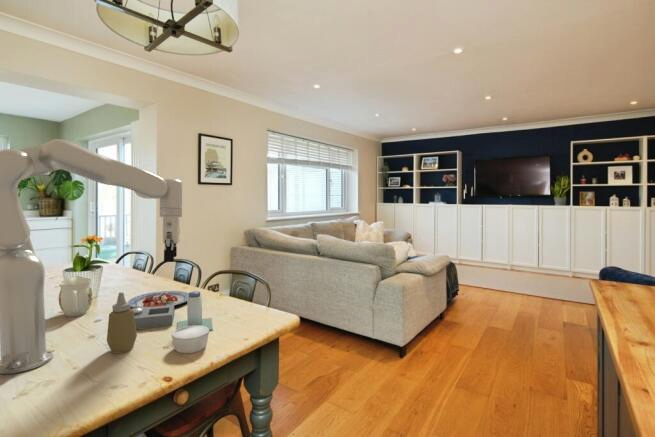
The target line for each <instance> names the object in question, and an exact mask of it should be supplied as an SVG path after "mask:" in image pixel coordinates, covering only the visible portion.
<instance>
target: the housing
mask: <svg viewBox="0 0 655 437" xmlns="http://www.w3.org/2000/svg"><path fill="white" fill-rule="evenodd" d="M134 318H135V325H136V330H141V329H149V328H157V327H158V328H160V327H169V326H173V323H174V319H175V305H170V306H159V307H148V308H143V312H141V313H140V314H135V315H134Z"/></svg>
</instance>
